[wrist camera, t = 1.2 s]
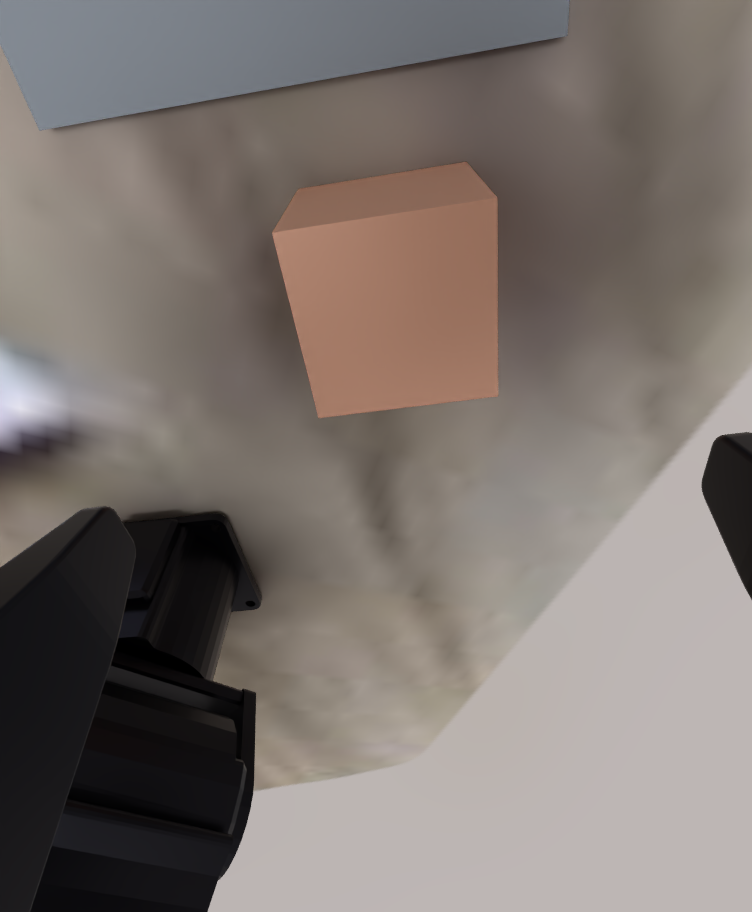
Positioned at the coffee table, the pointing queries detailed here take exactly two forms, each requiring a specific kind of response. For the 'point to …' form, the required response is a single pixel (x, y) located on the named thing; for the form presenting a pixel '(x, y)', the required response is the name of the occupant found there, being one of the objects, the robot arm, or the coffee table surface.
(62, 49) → the slate mat
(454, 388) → the terracotta cube
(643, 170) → the coffee table surface
